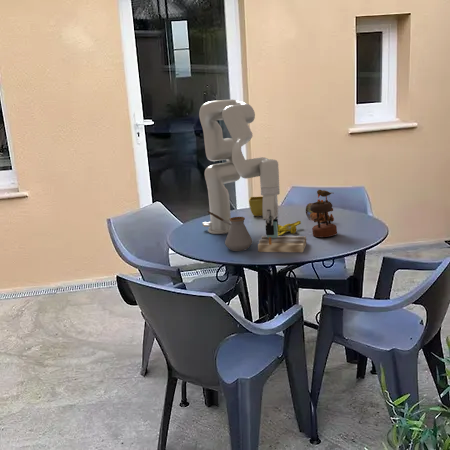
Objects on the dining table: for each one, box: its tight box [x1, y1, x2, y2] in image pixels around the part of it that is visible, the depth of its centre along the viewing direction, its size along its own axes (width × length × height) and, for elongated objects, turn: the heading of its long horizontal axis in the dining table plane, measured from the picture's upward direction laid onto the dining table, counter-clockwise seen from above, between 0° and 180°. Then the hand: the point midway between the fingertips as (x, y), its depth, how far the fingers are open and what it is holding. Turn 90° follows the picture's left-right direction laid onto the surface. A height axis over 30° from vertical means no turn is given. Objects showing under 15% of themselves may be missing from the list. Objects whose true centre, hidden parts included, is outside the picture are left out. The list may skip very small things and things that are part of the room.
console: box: [257, 235, 307, 253], centre depth 216 cm, size 18×12×6 cm, turn 75°
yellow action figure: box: [278, 220, 302, 236], centre depth 239 cm, size 19×4×15 cm
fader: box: [266, 222, 278, 239], centre depth 216 cm, size 4×3×7 cm
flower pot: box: [248, 195, 263, 217], centre depth 272 cm, size 9×9×9 cm
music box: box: [310, 189, 338, 238], centre depth 227 cm, size 15×11×20 cm
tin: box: [305, 202, 329, 224], centre depth 253 cm, size 15×3×8 cm, turn 27°
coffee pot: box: [206, 210, 253, 252], centre depth 221 cm, size 21×12×15 cm, turn 55°
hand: (272, 231), depth 216 cm, fingers open, 9 cm apart
